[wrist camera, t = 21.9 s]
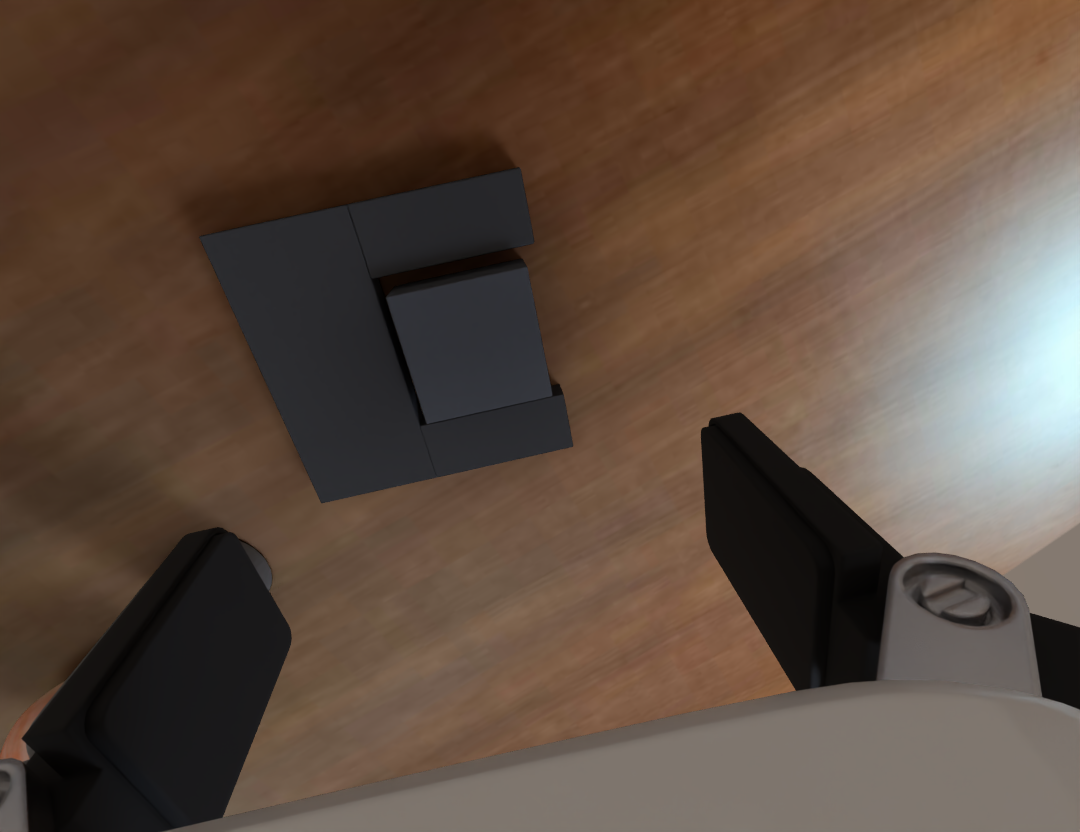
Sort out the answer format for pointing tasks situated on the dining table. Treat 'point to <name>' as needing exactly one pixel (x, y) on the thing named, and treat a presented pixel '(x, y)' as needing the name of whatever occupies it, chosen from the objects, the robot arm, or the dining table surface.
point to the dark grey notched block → (373, 332)
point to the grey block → (471, 340)
